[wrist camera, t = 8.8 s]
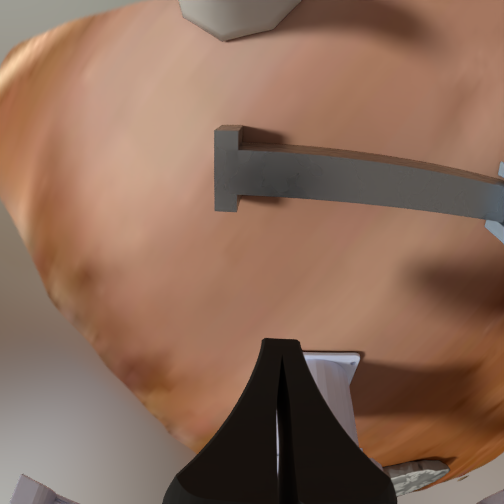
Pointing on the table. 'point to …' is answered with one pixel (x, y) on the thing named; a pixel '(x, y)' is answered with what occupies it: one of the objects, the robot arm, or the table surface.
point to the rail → (347, 178)
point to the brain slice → (415, 474)
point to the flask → (236, 15)
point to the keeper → (497, 228)
